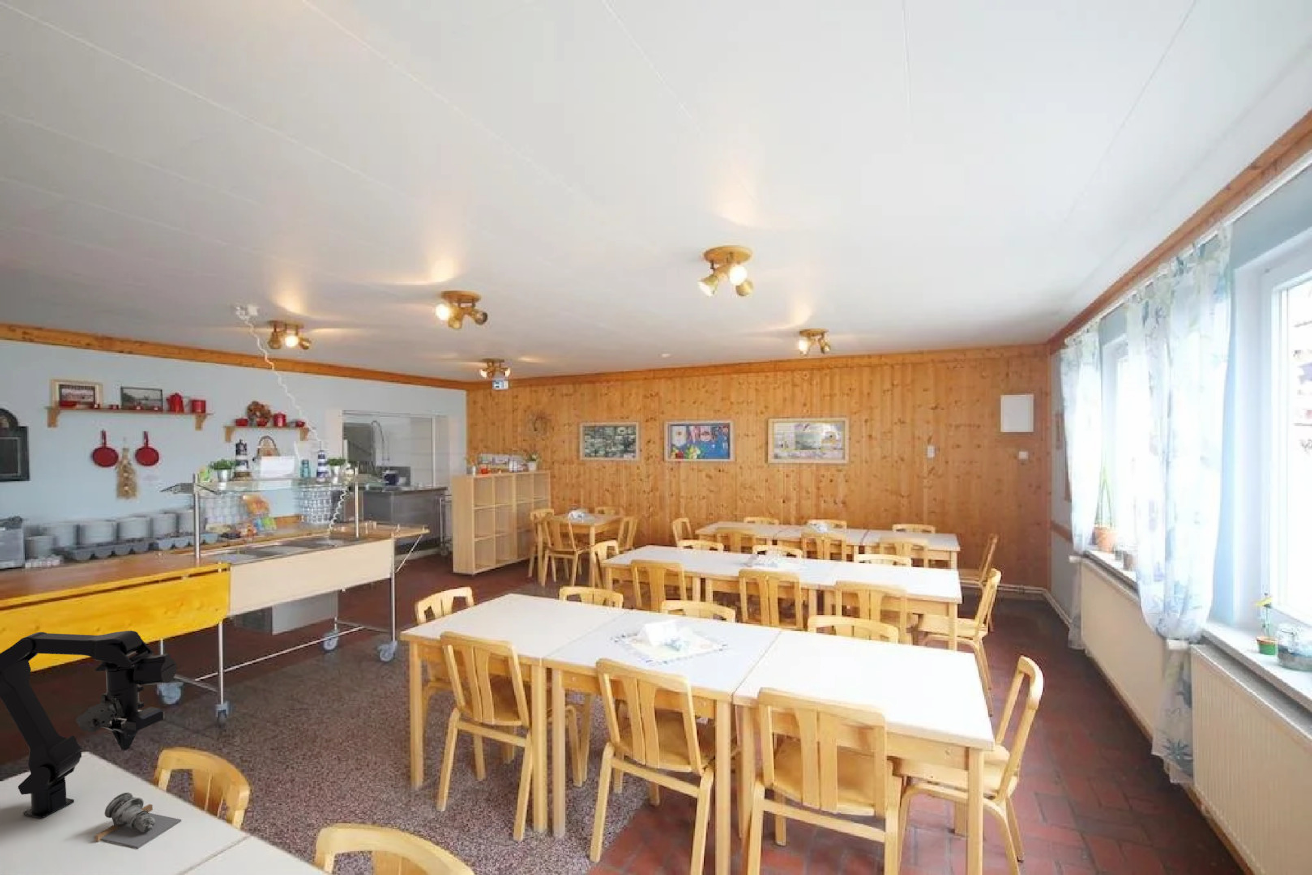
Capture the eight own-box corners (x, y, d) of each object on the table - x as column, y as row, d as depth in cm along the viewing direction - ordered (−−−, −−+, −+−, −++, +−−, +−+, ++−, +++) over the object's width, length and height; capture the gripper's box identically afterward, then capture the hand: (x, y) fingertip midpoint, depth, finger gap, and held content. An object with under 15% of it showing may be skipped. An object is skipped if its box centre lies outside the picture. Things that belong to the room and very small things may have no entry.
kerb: (94, 840, 129) (94, 835, 129) (149, 809, 139) (149, 804, 139) (98, 841, 129) (97, 836, 129) (152, 809, 139) (152, 804, 139)
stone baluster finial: (102, 825, 132) (137, 849, 128) (103, 802, 131) (137, 827, 127) (133, 806, 138) (167, 829, 134) (134, 785, 136) (168, 808, 133)
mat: (100, 840, 129) (100, 838, 129) (145, 813, 138) (145, 812, 138) (138, 848, 126) (137, 846, 126) (181, 821, 135) (181, 819, 135)
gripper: (54, 696, 137) (57, 763, 137) (111, 705, 132) (114, 774, 132) (110, 676, 148) (112, 738, 148) (164, 684, 143) (167, 747, 143)
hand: (125, 749), depth 143 cm, fingers closed
